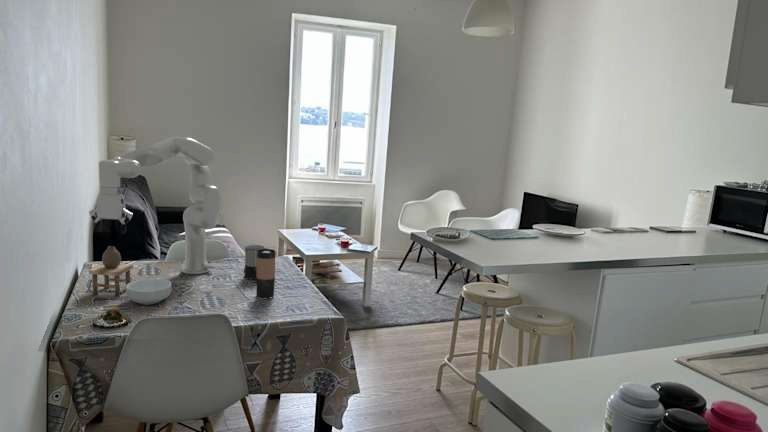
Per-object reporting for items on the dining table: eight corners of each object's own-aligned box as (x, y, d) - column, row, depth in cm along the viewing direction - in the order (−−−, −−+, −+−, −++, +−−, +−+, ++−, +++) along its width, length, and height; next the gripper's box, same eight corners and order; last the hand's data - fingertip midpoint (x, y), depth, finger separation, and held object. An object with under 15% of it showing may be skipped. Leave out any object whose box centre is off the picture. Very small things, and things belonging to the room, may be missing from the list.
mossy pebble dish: (85, 328, 186) (84, 307, 184) (108, 316, 197) (107, 297, 196) (116, 332, 184) (116, 311, 182) (137, 320, 195) (137, 300, 194)
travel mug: (277, 295, 232) (279, 250, 229) (268, 300, 225) (269, 254, 222) (262, 292, 234) (263, 248, 231) (252, 297, 227) (253, 251, 224)
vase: (124, 266, 224) (124, 245, 223) (114, 270, 218) (114, 249, 216) (108, 264, 225) (108, 244, 224) (98, 268, 218) (98, 247, 217)
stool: (133, 288, 229) (133, 264, 227) (119, 297, 217) (118, 272, 215) (105, 286, 229) (104, 262, 227) (89, 295, 217) (88, 270, 215)
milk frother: (253, 281, 251) (254, 250, 248) (229, 274, 259) (230, 244, 256) (274, 275, 262) (275, 245, 260) (251, 269, 271) (252, 240, 268)
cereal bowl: (126, 296, 219) (126, 279, 218) (170, 293, 226) (170, 277, 225) (125, 310, 204) (125, 292, 203) (172, 306, 211) (172, 289, 210)
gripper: (136, 191, 220) (137, 231, 223) (93, 188, 220) (95, 229, 223) (127, 193, 212) (128, 235, 215) (83, 190, 212) (85, 233, 215)
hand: (111, 232), depth 219 cm, fingers open, 9 cm apart
